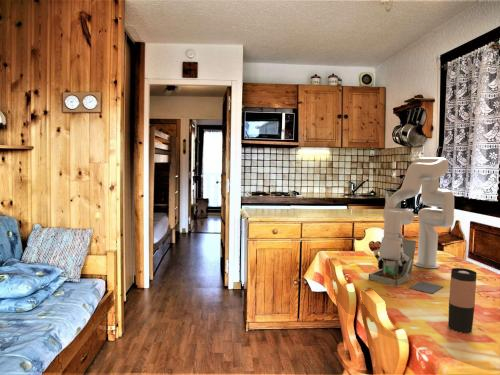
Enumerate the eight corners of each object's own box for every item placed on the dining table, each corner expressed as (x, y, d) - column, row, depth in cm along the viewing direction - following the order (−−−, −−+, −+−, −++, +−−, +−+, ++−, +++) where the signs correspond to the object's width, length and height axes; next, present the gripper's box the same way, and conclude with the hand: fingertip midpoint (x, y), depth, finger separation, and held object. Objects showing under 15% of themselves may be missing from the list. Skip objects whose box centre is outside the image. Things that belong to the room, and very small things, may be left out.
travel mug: (442, 324, 137) (446, 267, 136) (463, 323, 138) (467, 267, 136) (456, 333, 129) (460, 274, 128) (477, 333, 130) (482, 274, 129)
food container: (398, 283, 182) (399, 262, 181) (384, 282, 183) (385, 261, 182) (394, 276, 194) (395, 256, 193) (381, 274, 195) (382, 255, 194)
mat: (420, 281, 185) (420, 281, 185) (443, 287, 178) (443, 286, 178) (409, 288, 175) (409, 287, 175) (432, 294, 168) (432, 293, 168)
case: (387, 271, 202) (389, 236, 201) (414, 277, 193) (416, 240, 192) (368, 279, 187) (370, 242, 186) (396, 286, 178) (398, 246, 176)
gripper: (413, 237, 184) (411, 273, 185) (378, 232, 196) (376, 266, 197) (407, 239, 178) (404, 276, 180) (371, 234, 190) (369, 268, 191)
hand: (390, 271), depth 188 cm, fingers open, 9 cm apart
